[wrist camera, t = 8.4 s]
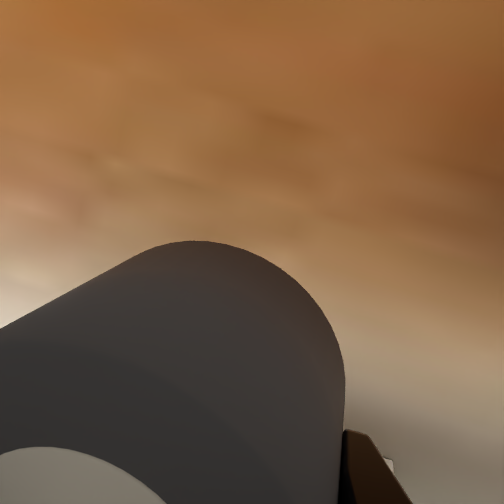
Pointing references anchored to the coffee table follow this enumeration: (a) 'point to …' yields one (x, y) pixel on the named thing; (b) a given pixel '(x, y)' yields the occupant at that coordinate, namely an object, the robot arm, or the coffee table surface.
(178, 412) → the grey cylinder white cap
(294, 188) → the coffee table surface
